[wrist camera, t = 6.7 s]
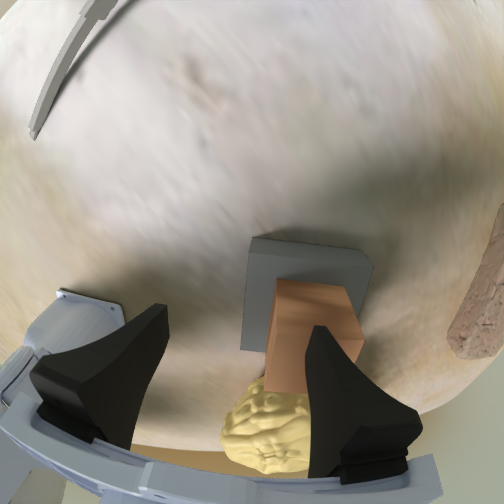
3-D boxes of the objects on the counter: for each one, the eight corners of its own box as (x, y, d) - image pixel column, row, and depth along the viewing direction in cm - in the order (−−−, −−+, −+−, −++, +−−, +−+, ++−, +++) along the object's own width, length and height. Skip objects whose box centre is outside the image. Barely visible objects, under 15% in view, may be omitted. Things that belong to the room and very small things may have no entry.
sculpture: (306, 339, 25) (316, 435, 15) (350, 395, 28) (364, 469, 19) (215, 377, 28) (196, 459, 18) (272, 423, 32) (269, 491, 22)
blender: (103, 426, 39) (53, 545, 10) (53, 395, 38) (-7, 504, 8) (107, 393, 33) (35, 553, 4) (45, 353, 31) (-42, 491, 2)
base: (243, 327, 25) (240, 349, 22) (252, 237, 21) (249, 252, 18) (336, 335, 25) (342, 357, 22) (362, 250, 21) (373, 266, 18)
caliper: (160, -29, 12) (132, -61, 6) (167, -26, 12) (139, -59, 7) (32, 135, 19) (-12, 142, 13) (36, 140, 19) (-8, 148, 13)
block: (266, 332, 21) (263, 390, 16) (276, 278, 19) (276, 333, 14) (327, 338, 21) (338, 394, 15) (343, 286, 19) (365, 340, 13)
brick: (497, 200, 18) (527, 214, 14) (531, 221, 18) (555, 235, 14) (439, 336, 25) (455, 363, 20) (478, 337, 25) (494, 360, 20)
